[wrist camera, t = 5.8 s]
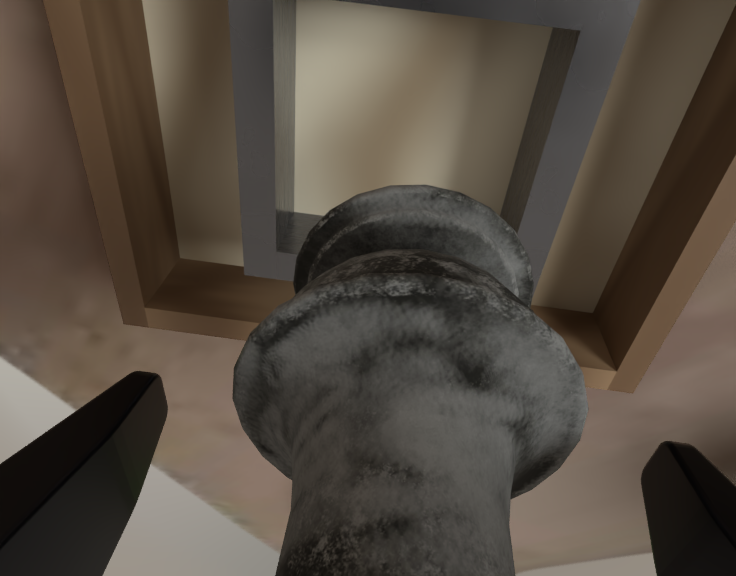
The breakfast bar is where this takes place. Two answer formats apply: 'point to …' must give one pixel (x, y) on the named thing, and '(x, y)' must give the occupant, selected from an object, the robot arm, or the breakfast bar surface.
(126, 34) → the walled box
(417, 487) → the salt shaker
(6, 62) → the breakfast bar surface
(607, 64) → the inlet collar
